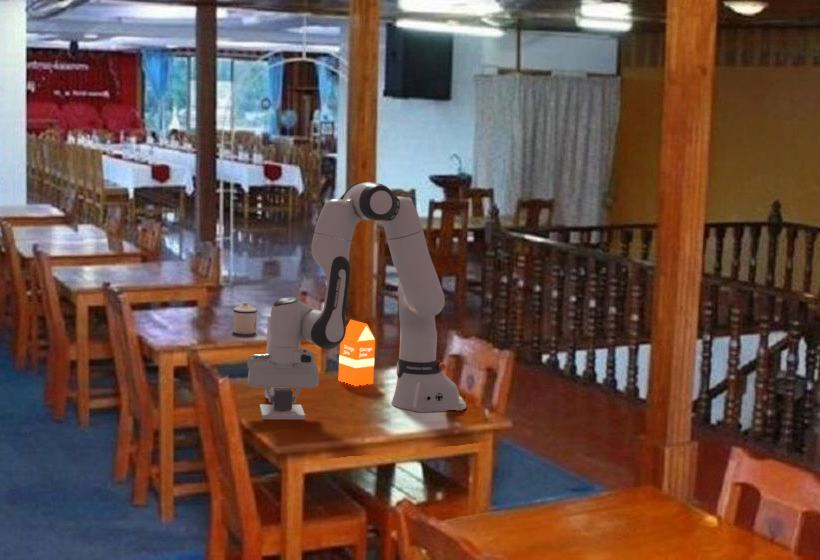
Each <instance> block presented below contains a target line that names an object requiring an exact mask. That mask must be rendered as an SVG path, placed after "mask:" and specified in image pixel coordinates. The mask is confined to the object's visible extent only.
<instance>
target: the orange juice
mask: <svg viewBox="0 0 820 560" xmlns="http://www.w3.org/2000/svg"><path fill="white" fill-rule="evenodd" d="M375 351H376V338H375V336H374V335H373V332H372V330H371V329H370V327H369V325H368V324H367V323H364V322H361V321H358V320H355V319H350V320H349V321H348V324H346V334H345V337H344V339H343V341H342V342H341V343H340V344H339V353H338V354H339V356H338V379H337V380H338V381H337V382H340V381H341V382H340V383H343V382H345V383H344V384H346V383H348V384H347V385H349V384H351V385H350V386H352V385H354V386H353V387H360V386H359V385H361V386H367V385H366V384H368V385H373V384H374V373H375V372H374V371H375V370H374V369H375Z"/></svg>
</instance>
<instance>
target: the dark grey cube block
mask: <svg viewBox="0 0 820 560" xmlns="http://www.w3.org/2000/svg"><path fill="white" fill-rule="evenodd" d="M273 395H274V402H272V405H273V407H274V409H292V405H293V402H292V395H293V390H292V387H289V388H273Z"/></svg>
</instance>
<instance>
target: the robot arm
mask: <svg viewBox="0 0 820 560" xmlns="http://www.w3.org/2000/svg"><path fill="white" fill-rule="evenodd" d="M361 221H366V222H367V221H368V222H369V221H375V222H380V223H381V225H382V227H383V228H384V233H385V237H386V241H387V245H388V248H389V253H390V255H391V260H392V264H393V266H394V268H395V271H396V273H397V276H398V278H399V281H400V282H399V284H398V287H397V295H398V317H399V328H400V329H399V331H400V333H399V334H400V335H399V352H398V353H399V354H398V356H399V357H397V362H396V376H397V378H396V385H395V388H394V389H395V390H394V393H393V396H392V397H393V398H392V400H391V405H392V406H395V407H396V408H400V409H404V410H409V411H413V412H416V413H417V412H418V413H432V411H433V412H434V411H435V412H448V411H447V410H456V411H464V410H463V409H465V408H466V409H467V404H466V402H465V400H463V399H462V398H460V393H459V392H460V391H459V389H458V386H457V384H456V383H455V382H454V381H452V379H450V378H449V377H448V376H447V375H446V374H444V373H443V372H442V371H445V370H446V368H447V366H446V364H445V363H444V362H441V361H440V360H439V359H437V343H438V331H437V325H436V316H437V315H439V314H440V313H441V312H442V311H443V310H444V307H445V303H446V299H445V294H444V291H443V289H442V285H441V282H440V279H439V276H438V273H437V271H436V268H435V265H434V263H433V261H432V258H431V255H430V251H429V247H428V244H427V241H426V236H425V233H424V232H425V231H424V229H423V225H422V222H421V219H420V216H419V213H418V211H417V209H416V206H415V204H414V202H413V201H412V199H410V198H409V197H407V196H399V195H398V196H397V195H395V194H394V192H393V191H392V190H391V189H390V188H389V187H388V186H386V185H384V184H383V183H377V182H372V181H367V182H366V181H365V182H357V183H355V184H352V185H351V186H349V187H348V188H347V189H346V190H345V191H344V193H343V194H342V196H341V197H339V198H332V199H329V200H327V201H326V202H325V203H324V205H323V207H322V209H321V210H320V214H319V215H318V218H317V222H316V225H315V229H314V232H313V237H312V240H311V248H310V249H311V256H312V258H313V260H314V262H315V263H316V264H317V265H318V266H319V267H320V268H321V270H322V272H323V273H324V276H325V278H326V289H325V295H324V304H323V309H322V310H321V309H319V308H315V307H313V306H309V305H307V304H306V303H304V302H302V301H301V300H300V299H298V298H297V297H292V296H291V297H282V298H279V299H277V300H275V301H274V302H273V304H272V305H271V306H272V307H271V310H270V314H271V316H270V333H271V339H270V342H269V354H266V353H265V354H256V353H254V354H252V355H250V356H249V357H248V358H247V363H246V364H247V365H246V367H247V369H248V374H247V384H248V385H249V387H250V388H264V391H265V390H266V392H267V394H268V396H269V399H268V402H269V403H273V402H274V395H271V394H270V392H269V391H270V390H271V387H289V388H295V392H294V394H292V403H297V399H298V398H297V397H298V396H299V394H300V393H301V391H302V388H317V387H318V386H319V384H320V376H319V367H318V365H317V364H316V355H315V354H314V352H312V351H310V350H308V349H304V348H302V347H301V342H302V341H307V342H309V343H311V344H314V345H316V346H318V347H319V348H321V349H324V350H332V349H334V348H337V347H338V346H340V343H341V342H342V341H343V339H344V337H345V334H346V327H347V322H346V310H347V309H346V308H347V300H348V293H349V284H350V276H351V266H350V265H351V264H350V261H349V260H350V253H351V252H350V251H351V246H352V240H353V235H354V230H355V229H356V227H357V225H358V223H360V222H361ZM268 358H269V360H268ZM466 409H465V410H466Z"/></svg>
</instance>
